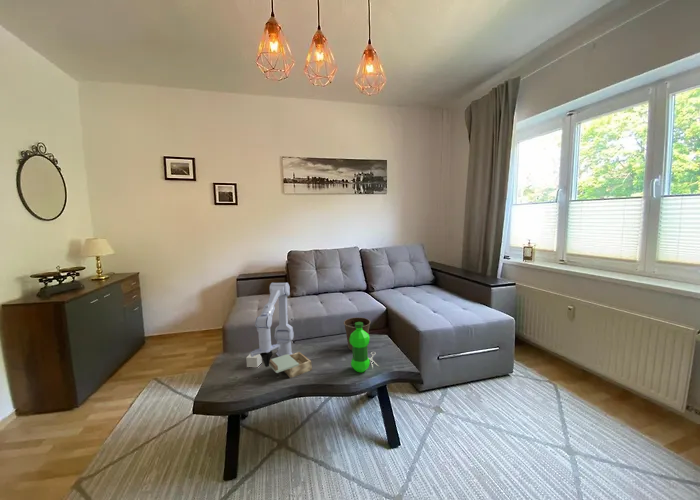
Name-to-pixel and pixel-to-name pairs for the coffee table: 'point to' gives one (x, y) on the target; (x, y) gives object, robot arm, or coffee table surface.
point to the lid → (282, 363)
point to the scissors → (372, 359)
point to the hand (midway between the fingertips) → (266, 365)
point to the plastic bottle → (359, 348)
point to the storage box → (302, 367)
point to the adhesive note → (254, 360)
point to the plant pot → (351, 327)
